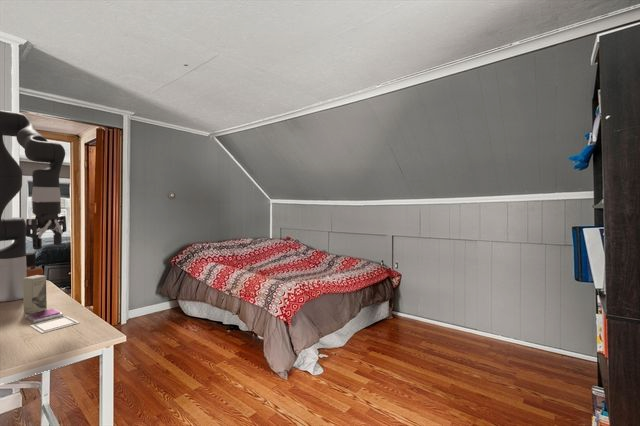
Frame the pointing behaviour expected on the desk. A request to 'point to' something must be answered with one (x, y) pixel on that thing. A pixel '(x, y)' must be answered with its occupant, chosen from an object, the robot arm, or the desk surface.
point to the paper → (54, 324)
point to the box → (34, 294)
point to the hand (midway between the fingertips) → (47, 247)
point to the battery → (34, 271)
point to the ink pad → (43, 315)
